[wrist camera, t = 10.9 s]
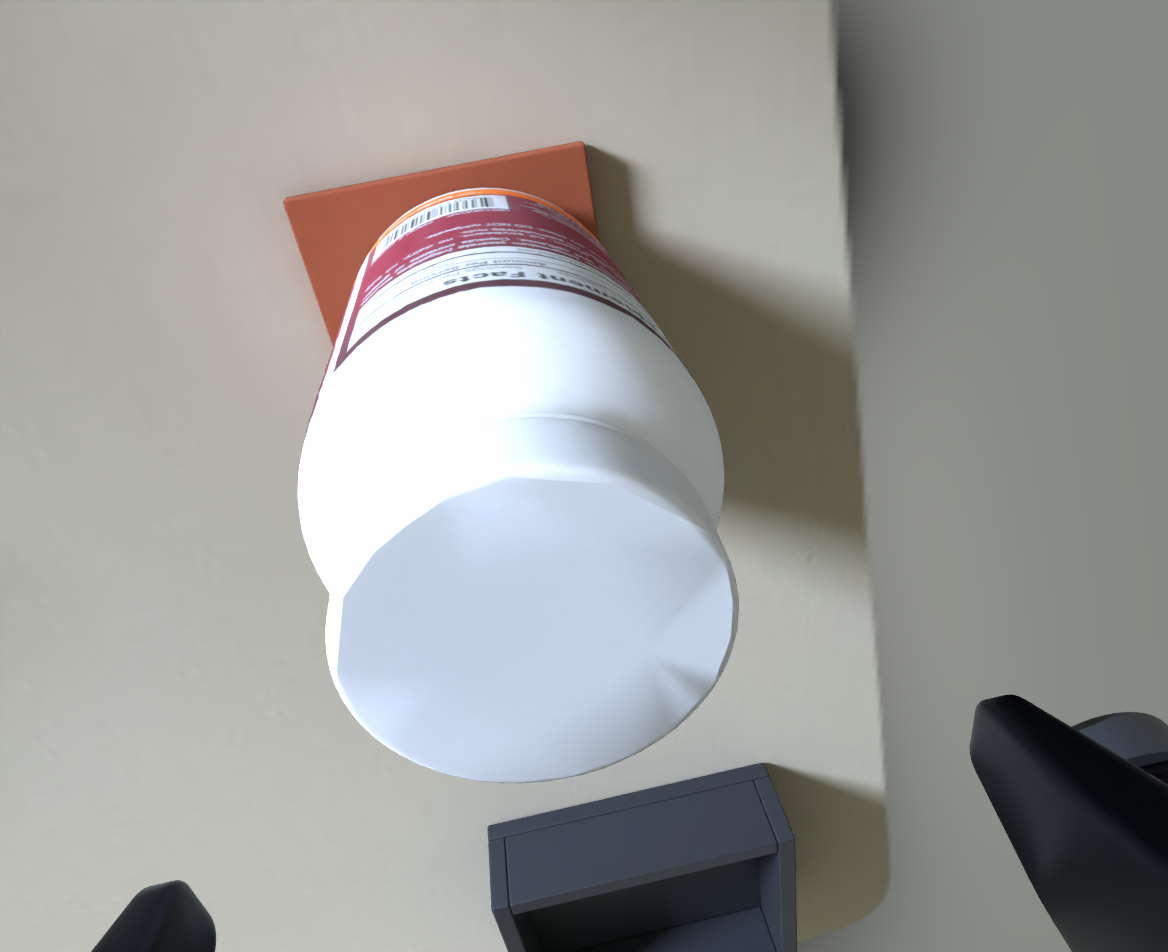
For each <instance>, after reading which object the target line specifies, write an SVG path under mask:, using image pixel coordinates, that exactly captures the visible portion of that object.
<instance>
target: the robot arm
mask: <svg viewBox="0 0 1168 952" xmlns="http://www.w3.org/2000/svg"><path fill="white" fill-rule="evenodd" d="M970 756H971V760H972V763H973V766H974V768H975V771H976V773H977V775H978V777H979V779H980V781H981V783H982V785H983V787H984V789H985V791H986V793H987V795H988V797H989V799H990V801H991V803H992V805H993V807H994V809H995V811H996V813H997V815H998V817H999V819H1000V821H1001V823H1002V825H1003V827H1004V829H1005V831H1006V833H1007V835H1008V837H1009V839H1010V841H1011V843H1012V845H1013V847H1014V849H1015V851H1016V853H1017V855H1018V857H1019V859H1020V861H1021V863H1022V865H1023V867H1024V869H1025V871H1026V873H1027V875H1028V877H1029V879H1030V881H1031V883H1032V885H1033V887H1034V889H1035V891H1036V892H1037V894H1038V896H1039V898H1040V900H1041V902H1042V903H1043V905H1044V907H1045V909H1046V910H1047V912H1048V914H1049V915H1050V917H1051V919H1052V920H1053V922H1054V924H1055V925H1056V927H1057V928H1058V930H1059V931H1060V933H1061V935H1062V936H1063V938H1064V940H1065V941H1066V943H1067V944H1068V946H1069V948H1070V949H1071V951H1072V952H1168V760H1166V761H1162V762H1158V763H1153V764H1149V765H1145V766H1141V767H1137V766H1135V765H1134V764H1132V763H1130V762H1129V761H1127V760H1125V759H1124V758H1122V757H1120V756H1119V755H1117V754H1115V753H1114V752H1112V751H1110V750H1109V749H1107V748H1105V747H1104V746H1102V745H1100V744H1099V743H1097V742H1095V741H1094V740H1092V739H1090V738H1089V737H1087V736H1085V735H1084V734H1082V733H1080V732H1079V731H1077V730H1075V729H1074V728H1072V727H1070V726H1068V725H1067V724H1065V723H1064V722H1062V721H1060V720H1059V719H1057V718H1055V717H1053V716H1052V715H1050V714H1048V713H1047V712H1045V711H1043V710H1042V709H1040V708H1038V707H1037V706H1035V705H1033V704H1032V703H1030V702H1028V701H1027V700H1025V699H1023V698H1021V697H1019V696H1016V695H1004V696H1000V697H995V698H991V699H986V700H983V701H981V702H980V703H979V704H978V705H977V707H976V710H975V716H974V722H973V729H972V735H971V742H970ZM215 947H216V930H215V925H214V922H213V920H212V918H211V916H210V914H209V913H208V912H207V910H206V909H205V908H204V906H203V905H202V903H201V902H200V901H199V899H198V898H197V897H196V895H195V894H194V892H193V891H192V890H191V888H190V887H189V886H188V885H187V884H186V883H185V882H183V881H180V880H176V881H171V882H166V883H162V884H157V885H153V886H149V887H147V888H144V889H143V890H141V891H140V892H139V893H138V894H137V895H136V896H135V897H134V898H133V899H132V901H131V902H130V903H129V904H128V906H127V907H126V908H125V909H124V911H123V912H122V913H121V915H120V916H119V917H118V918H117V920H116V921H115V922H114V923H113V925H112V926H111V927H110V928H109V930H108V931H107V932H106V934H105V935H104V936H103V937H102V939H101V940H100V941H99V942H98V944H97V945H96V946H95V947H94V949H93V950H92V951H91V952H215Z"/></svg>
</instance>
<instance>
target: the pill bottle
mask: <svg viewBox="0 0 1168 952" xmlns="http://www.w3.org/2000/svg"><path fill="white" fill-rule="evenodd" d="M724 485H725V482H724V462H723V454H722V447H721V442H720V437H719V434H718V431H717V428H716V425H715V421H714V419H713V416H712V414H711V411H710V409H709V406H708V404H707V402H706V400H705V398H704V396H703V394H702V393H701V391H700V389H699V388H698V386H697V384H696V383H695V381H694V380H693V378H692V376H691V374H690V373H689V371H688V370H687V368H686V366H685V365H684V363H683V362H682V360H681V359H680V358H679V356H678V355H677V354H676V352H675V351H674V349H673V348H672V346H671V345H670V343H669V342H668V340H667V339H666V338H665V336H664V334H663V333H662V331H661V330H660V329H659V327H658V326H657V325H656V323H655V322H654V320H653V319H652V317H651V316H650V314H649V313H648V312H647V310H646V309H645V307H644V306H643V305H642V303H641V301H640V300H639V298H638V297H637V295H636V294H635V293H634V291H633V290H632V288H631V287H630V285H629V284H628V282H627V281H626V279H625V278H624V276H623V275H622V273H621V272H620V270H619V269H618V268H617V266H616V265H615V264H614V262H613V260H612V259H611V257H610V256H609V254H608V253H607V251H606V250H605V248H604V247H603V246H602V245H601V244H600V242H599V241H598V240H597V239H596V238H595V236H594V235H593V234H592V233H591V232H589V231H588V230H587V229H586V228H585V227H584V226H583V225H582V224H581V223H580V222H578V221H577V220H576V219H575V218H573V217H572V216H571V215H569V214H568V213H566V212H565V211H564V210H562V209H561V208H559V207H557V206H555V205H553V204H552V203H550V202H548V201H545V200H543V199H541V198H538V197H536V196H533V195H530V194H527V193H523V192H519V191H515V190H509V189H501V188H473V189H464V190H458V191H454V192H450V193H446V194H443V195H440V196H437V197H435V198H432V199H430V200H428V201H426V202H424V203H422V204H420V205H418V206H416V207H414V208H413V209H411V210H410V211H408V212H407V213H405V214H404V215H403V216H401V217H400V218H399V219H398V220H397V221H396V222H394V223H393V224H392V225H391V226H390V227H389V228H388V229H387V230H386V231H385V232H384V233H383V234H382V236H381V237H380V238H379V239H378V241H377V242H376V243H375V245H374V246H373V248H372V249H371V251H370V252H369V254H368V255H367V257H366V259H365V261H364V263H363V265H362V267H361V269H360V271H359V273H358V275H357V278H356V280H355V282H354V284H353V287H352V290H351V293H350V297H349V300H348V302H347V305H346V309H345V312H344V315H343V318H342V321H341V324H340V328H339V331H338V334H337V337H336V340H335V344H334V347H333V350H332V353H331V356H330V359H329V362H328V364H327V366H326V369H325V375H324V377H323V380H322V383H321V386H320V388H319V392H318V394H317V397H316V401H315V405H314V408H313V411H312V414H311V417H310V420H309V423H308V427H307V431H306V436H305V441H304V445H303V450H302V456H301V461H300V467H299V476H298V507H299V515H300V521H301V527H302V533H303V536H304V539H305V542H306V546H307V549H308V552H309V555H310V558H311V560H312V562H313V564H314V566H315V568H316V570H317V572H318V574H319V576H320V578H321V579H322V581H323V583H324V585H325V586H326V588H327V590H328V591H329V592H330V599H329V606H328V612H327V620H326V649H327V657H328V662H329V668H330V671H331V675H332V678H333V681H334V684H335V686H336V688H337V690H338V692H339V694H340V696H341V698H342V700H343V702H344V703H345V705H346V706H347V708H348V709H349V710H350V712H351V713H352V714H353V716H354V717H355V718H356V719H357V721H358V722H359V723H360V724H361V725H362V726H363V727H364V728H365V729H366V730H367V731H368V732H369V733H370V734H371V735H372V736H373V737H374V738H376V739H377V740H378V741H380V742H381V743H382V744H384V745H385V746H387V747H388V748H390V749H391V750H393V751H395V752H396V753H398V754H399V755H401V756H403V757H405V758H407V759H409V760H411V761H413V762H415V763H418V764H420V765H422V766H424V767H427V768H430V769H433V770H436V771H439V772H442V773H445V774H448V775H452V776H456V777H460V778H465V779H469V780H477V781H484V782H496V783H529V782H542V781H551V780H556V779H562V778H568V777H573V776H578V775H583V774H586V773H589V772H593V771H596V770H599V769H603V768H605V767H608V766H610V765H612V764H615V763H617V762H620V761H622V760H624V759H626V758H628V757H630V756H632V755H635V754H637V753H639V752H641V751H643V750H644V749H646V748H647V747H649V746H651V745H652V744H654V743H655V742H657V741H659V740H660V739H662V738H663V737H665V736H666V735H667V734H669V733H670V732H671V731H673V730H674V729H675V728H677V727H678V726H679V725H680V724H681V723H682V722H683V721H684V720H685V719H686V718H688V717H689V716H690V715H691V714H692V713H693V711H694V710H695V709H696V708H697V707H698V706H699V705H700V704H701V703H702V702H703V701H704V699H705V698H706V697H707V696H708V694H709V693H710V692H711V690H712V689H713V688H714V686H715V684H716V683H717V681H718V679H719V677H720V676H721V674H722V672H723V670H724V668H725V666H726V664H727V662H728V659H729V657H730V654H731V651H732V648H733V644H734V641H735V637H736V633H737V627H738V614H739V597H738V591H737V585H736V580H735V576H734V573H733V569H732V566H731V563H730V560H729V558H728V556H727V553H726V551H725V549H724V547H723V544H722V542H721V540H720V538H719V536H718V533H717V531H716V530H717V526H718V522H719V518H720V514H721V509H722V501H723V493H724Z"/></svg>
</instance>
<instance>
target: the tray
mask: <svg viewBox="0 0 1168 952" xmlns="http://www.w3.org/2000/svg"><path fill="white" fill-rule="evenodd" d="M488 841H489V843H488V846H489V867H490V888H491V909H492V912H493V914H494V917H495V919H496V922H497V925H498V927H499V930H500V932H501V935H502V937H503V940H504V942H505V945H506V947H507V950H508V952H797V918H796V863H795V837H794V834H793V832H792V829H791V827H790V825H789V822H788V820H787V817H786V815H785V813H784V810H783V808H782V805H781V803H780V801H779V798H778V796H777V793H776V791H775V789H774V786H773V784H772V781H771V779H770V777H769V774H768V772H767V769H766V767H765V765H764V763H759V764H755V765H751V766H746V767H742V768H738V769H733V770H729V771H725V772H720V773H716V774H712V775H707V776H703V777H699V778H694V779H690V780H686V781H681V782H677V783H673V784H668V785H664V786H660V787H655V788H651V789H647V790H642V791H638V792H634V793H629V794H625V795H621V796H616V797H612V798H608V799H603V800H599V801H595V802H590V803H586V804H581V805H577V806H573V807H568V808H564V809H560V810H555V811H551V812H547V813H542V814H538V815H534V816H529V817H525V818H521V819H516V820H512V821H508V822H503V823H499V824H495V825H490V826H488Z"/></svg>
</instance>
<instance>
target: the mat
mask: <svg viewBox="0 0 1168 952" xmlns="http://www.w3.org/2000/svg"><path fill="white" fill-rule="evenodd" d="M473 188H501V189H509V190H515V191H519V192H523V193H527V194H530V195H533V196H536V197H538V198H541V199H543V200H545V201H548V202H550V203H552V204H553V205H555V206H557V207H559V208H561V209H562V210H564V211H565V212H566V213H568V214H569V215H571V216H572V217H573V218H575V219H576V220H577V221H578V222H580V223H581V224H582V225H583V226H584V227H585V228H586V229H587V230H588V231H589V232H591V233H592V234H593V235H594V236H595V238H596V239H597V240H598V241H599V239H598V232H597V225H596V218H595V211H594V204H593V197H592V190H591V183H590V176H589V169H588V162H587V155H586V148H585V144H584V143H583V142H582V141H579V142H574V143H568V144H563V145H558V146H553V147H548V148H542V149H537V150H532V151H527V152H521V153H516V154H511V155H506V156H501V157H495V158H490V159H485V160H480V161H475V162H469V163H464V164H459V165H454V166H448V167H443V168H438V169H433V170H428V171H422V172H417V173H412V174H407V175H402V176H396V177H391V178H386V179H381V180H375V181H370V182H365V183H360V184H355V185H349V186H344V187H339V188H334V189H328V190H323V191H318V192H313V193H308V194H302V195H297V196H292V197H287V198H286V199H285V200H284V201H283V204H284V207H285V210H286V212H287V215H288V218H289V221H290V224H291V227H292V230H293V233H294V236H295V238H296V241H297V244H298V247H299V250H300V253H301V256H302V259H303V261H304V264H305V267H306V270H307V273H308V276H309V279H310V282H311V284H312V287H313V290H314V293H315V296H316V299H317V302H318V305H319V307H320V310H321V313H322V316H323V319H324V322H325V325H326V328H327V330H328V333H329V336H330V339H331V342H332V345H333V347H334V344H335V340H336V337H337V334H338V331H339V328H340V324H341V321H342V318H343V315H344V312H345V309H346V305H347V302H348V300H349V297H350V293H351V290H352V287H353V284H354V282H355V280H356V278H357V275H358V273H359V271H360V269H361V267H362V265H363V263H364V261H365V259H366V257H367V255H368V254H369V252H370V251H371V249H372V248H373V246H374V245H375V243H376V242H377V241H378V239H379V238H380V237H381V236H382V234H383V233H384V232H385V231H386V230H387V229H388V228H389V227H390V226H391V225H392V224H393V223H394V222H396V221H397V220H398V219H399V218H400V217H401V216H403V215H404V214H405V213H407V212H408V211H410V210H411V209H413V208H414V207H416V206H418V205H420V204H422V203H424V202H426V201H428V200H430V199H432V198H435V197H437V196H440V195H443V194H446V193H450V192H454V191H458V190H464V189H473Z"/></svg>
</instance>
